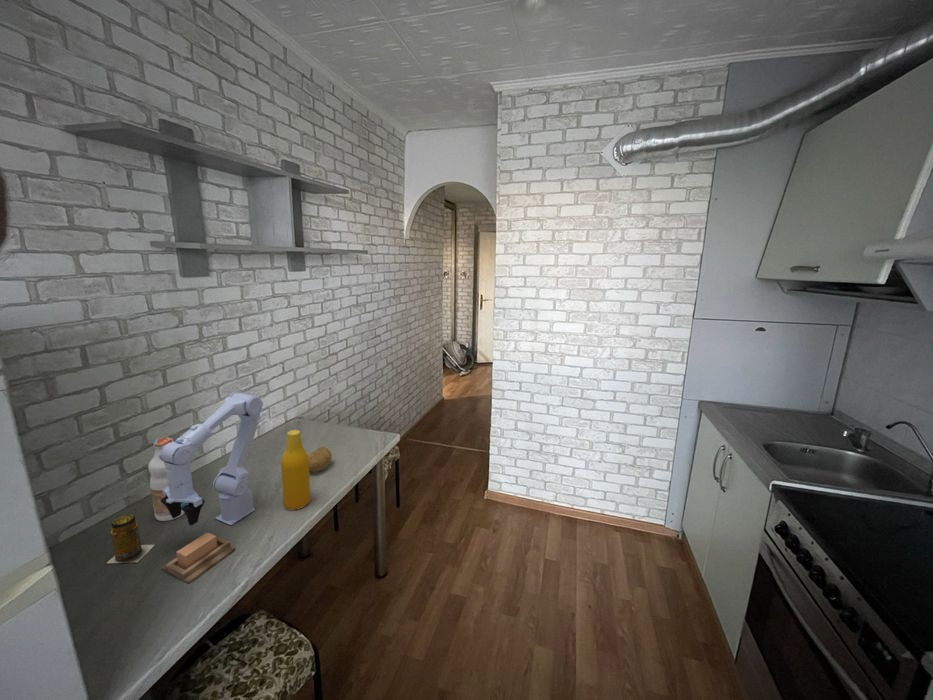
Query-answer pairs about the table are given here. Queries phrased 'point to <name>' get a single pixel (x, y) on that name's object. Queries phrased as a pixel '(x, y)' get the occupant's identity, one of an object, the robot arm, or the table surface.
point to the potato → (319, 459)
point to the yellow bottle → (295, 472)
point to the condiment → (127, 541)
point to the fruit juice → (160, 482)
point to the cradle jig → (200, 562)
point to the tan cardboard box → (196, 550)
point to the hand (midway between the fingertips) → (185, 519)
